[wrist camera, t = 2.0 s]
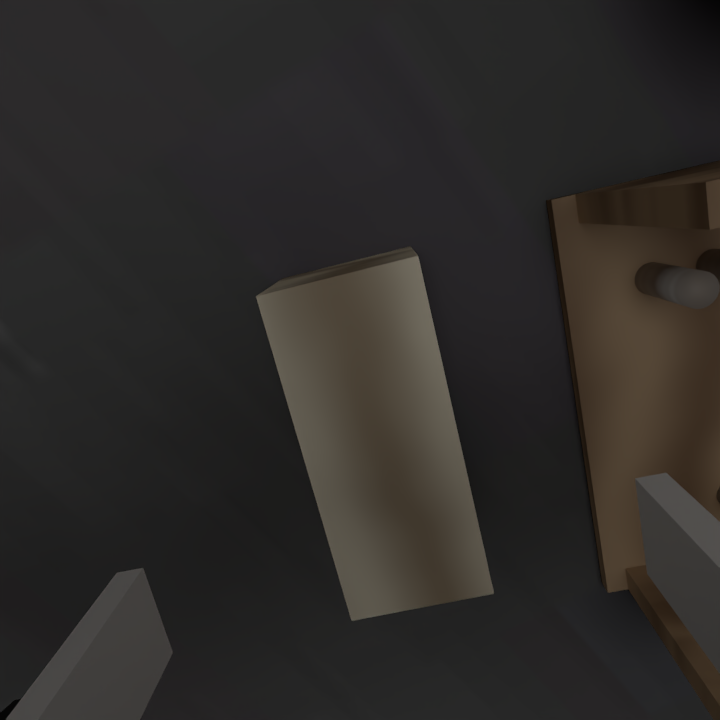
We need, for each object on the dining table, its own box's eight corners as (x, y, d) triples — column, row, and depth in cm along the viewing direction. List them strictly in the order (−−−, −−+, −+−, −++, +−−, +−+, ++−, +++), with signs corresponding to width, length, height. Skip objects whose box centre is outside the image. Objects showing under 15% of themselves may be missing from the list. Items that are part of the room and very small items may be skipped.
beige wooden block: (357, 542, 30) (351, 621, 24) (283, 278, 27) (255, 296, 21) (471, 518, 30) (494, 593, 24) (410, 246, 26) (418, 255, 21)
